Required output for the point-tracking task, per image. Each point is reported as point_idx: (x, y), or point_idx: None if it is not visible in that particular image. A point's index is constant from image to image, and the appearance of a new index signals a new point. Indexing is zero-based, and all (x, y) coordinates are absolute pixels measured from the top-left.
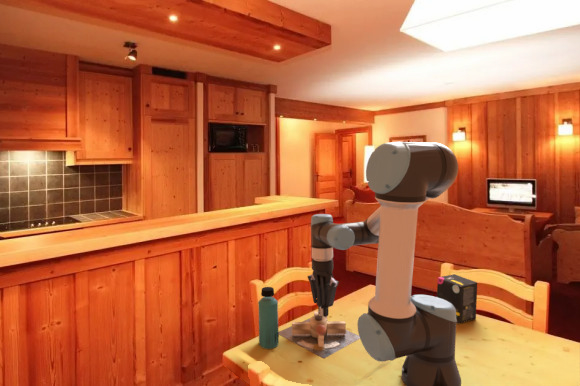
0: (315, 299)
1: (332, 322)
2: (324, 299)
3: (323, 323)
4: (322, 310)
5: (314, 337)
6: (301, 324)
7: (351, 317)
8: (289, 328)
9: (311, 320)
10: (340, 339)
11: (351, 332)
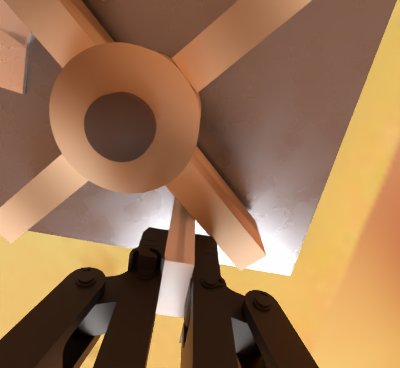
0: (256, 323)
1: (56, 182)
2: (107, 337)
3: (56, 94)
4: (165, 250)
5: None
6: (236, 3)
7: (156, 355)
8: (355, 68)
9: (160, 63)
10: (24, 135)
11: (36, 230)
